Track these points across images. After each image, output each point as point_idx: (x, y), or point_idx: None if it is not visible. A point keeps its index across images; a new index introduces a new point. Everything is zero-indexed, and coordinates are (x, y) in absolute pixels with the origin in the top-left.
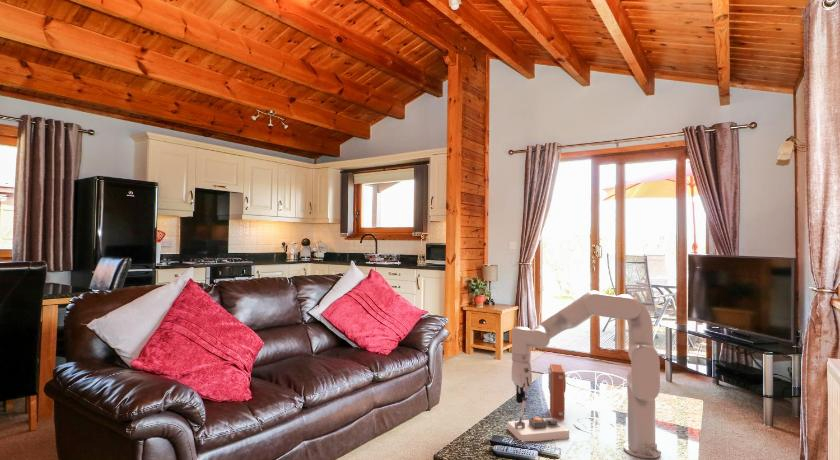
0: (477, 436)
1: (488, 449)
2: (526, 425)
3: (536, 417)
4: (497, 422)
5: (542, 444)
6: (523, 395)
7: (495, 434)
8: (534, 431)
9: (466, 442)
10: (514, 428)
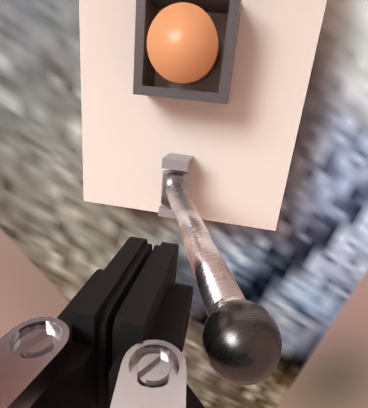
0: None
1: None
2: (162, 124)
3: (154, 37)
4: (23, 192)
5: (341, 122)
6: (181, 343)
7: None
8: (263, 129)
9: None
10: None
